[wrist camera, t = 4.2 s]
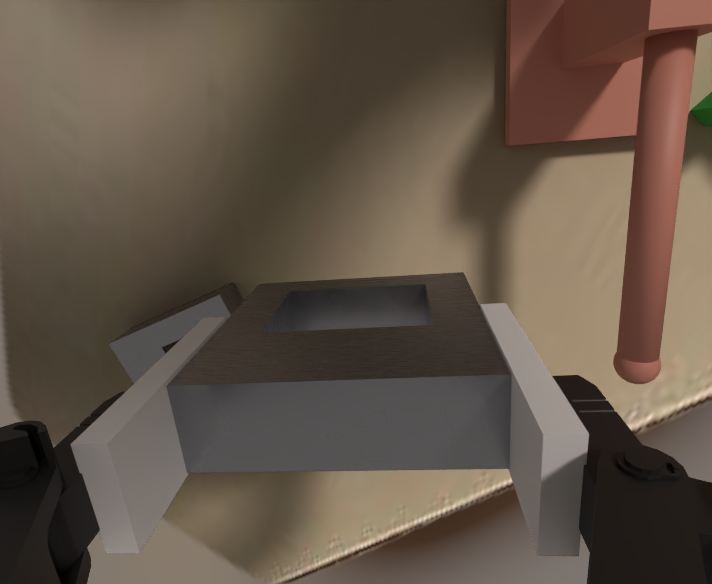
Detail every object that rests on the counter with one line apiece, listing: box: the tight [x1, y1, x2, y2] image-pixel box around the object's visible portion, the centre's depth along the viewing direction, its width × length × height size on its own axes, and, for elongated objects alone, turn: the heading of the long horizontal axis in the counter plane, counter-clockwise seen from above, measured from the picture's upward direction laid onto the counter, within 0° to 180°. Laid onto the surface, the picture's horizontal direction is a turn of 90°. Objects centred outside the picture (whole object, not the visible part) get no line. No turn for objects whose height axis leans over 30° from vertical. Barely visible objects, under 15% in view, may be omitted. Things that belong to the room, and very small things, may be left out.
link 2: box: [166, 272, 512, 473], centre depth 15 cm, size 2×8×8 cm, turn 95°
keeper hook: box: [505, 0, 712, 384], centre depth 21 cm, size 20×8×10 cm, turn 5°
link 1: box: [109, 283, 243, 383], centre depth 30 cm, size 8×8×2 cm
